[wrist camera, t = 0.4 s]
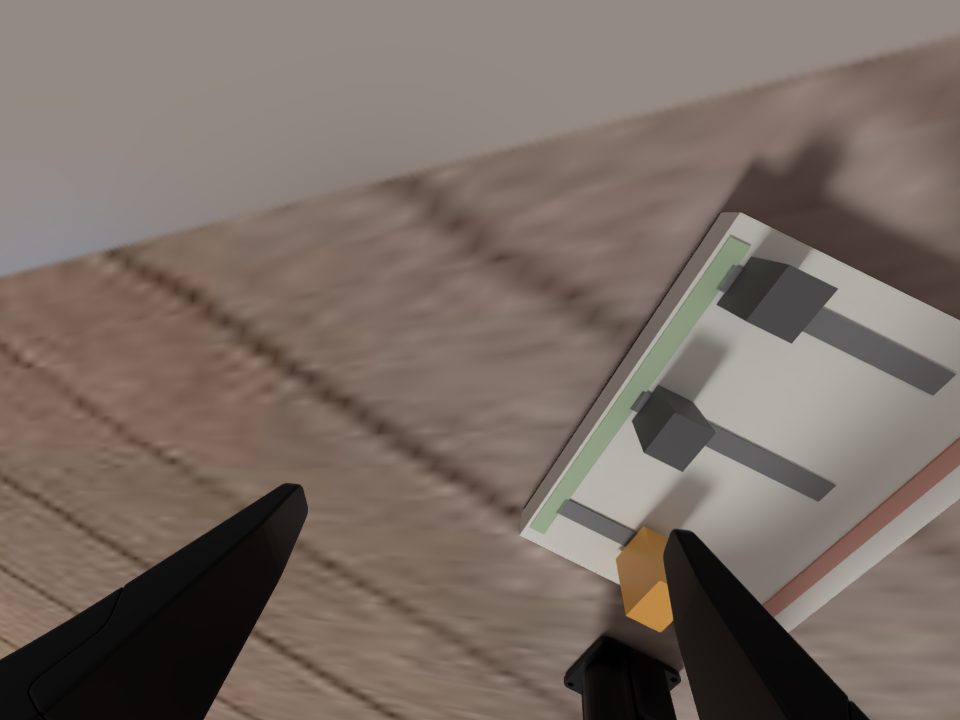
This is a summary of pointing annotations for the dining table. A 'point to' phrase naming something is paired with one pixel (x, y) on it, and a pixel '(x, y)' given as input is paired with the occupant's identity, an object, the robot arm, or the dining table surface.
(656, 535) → the block
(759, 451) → the breaker panel
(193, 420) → the dining table surface
